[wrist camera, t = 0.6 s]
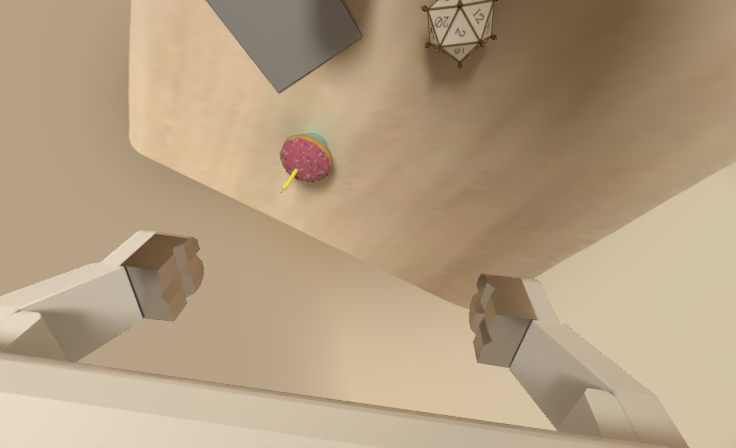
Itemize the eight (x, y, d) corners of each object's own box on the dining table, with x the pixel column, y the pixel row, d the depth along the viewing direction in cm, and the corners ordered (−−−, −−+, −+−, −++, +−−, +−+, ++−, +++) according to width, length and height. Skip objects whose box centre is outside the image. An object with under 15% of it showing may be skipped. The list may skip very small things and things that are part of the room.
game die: (451, 20, 47) (407, 71, 45) (449, -50, 40) (397, 6, 38) (514, 37, 43) (470, 93, 41) (525, -38, 36) (472, 26, 34)
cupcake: (313, 171, 65) (291, 216, 57) (280, 137, 61) (251, 179, 53) (348, 151, 60) (329, 196, 52) (314, 112, 56) (288, 153, 48)
